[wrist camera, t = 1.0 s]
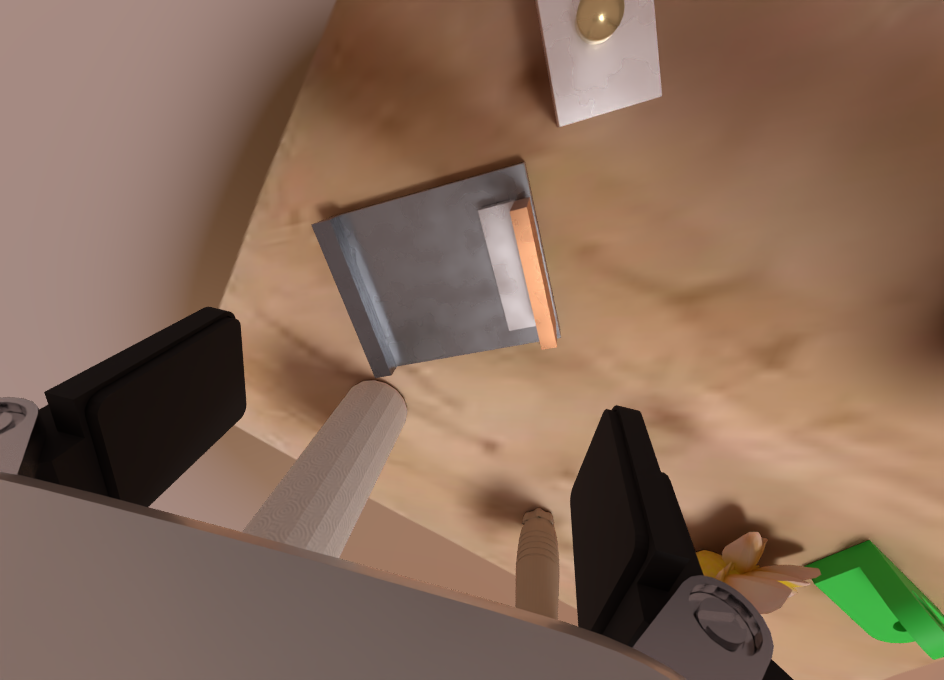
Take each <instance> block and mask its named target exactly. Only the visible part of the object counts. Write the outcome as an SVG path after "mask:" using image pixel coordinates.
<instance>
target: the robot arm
mask: <svg viewBox="0 0 944 680" xmlns="http://www.w3.org/2000/svg"><path fill="white" fill-rule="evenodd" d="M44 393H45V396H46V399H47V402H48V405H47V406H45V407H43V408H41V409H40V410H39V409H38V407H37V405H36V404H35V403H34V402H32V401H30V400H27V399H24V398H15V397H3V398H0V680H793V679H792V678H791V677H790V676H789V675H788V674H787V673H786V672H785V671H784V670H782V669H781V668H780V667H779V666H778V665H777V664H776V663H775V662H774V661H773V660H772V659H771V658H772V654H773V647H774V645H773V641H772V637H771V632H770V630H769V628H768V627H767V625H766V623H765V621H764V619H763V617H762V616H761V615H760V613H759V612H758V611H757V610H756V608H755V607H754V606H753V604H752V603H751V602H749V601H748V600H747V599H746V598H745V597H744V596H743V595H742V594H741V593H740V592H738V591H737V590H735V589H734V588H732V587H731V586H729V585H728V584H726V583H724V582H722V581H720V580H717V579H715V578H713V577H708V576H704V575H703V572H702V569H701V566H700V563H699V560H698V558H697V555H696V552H695V549H694V546H693V543H692V541H691V538H690V535H689V532H688V529H687V526H686V524H685V521H684V518H683V515H682V512H681V509H680V507H679V504H678V501H677V498H676V495H675V493H674V490H673V487H672V484H671V481H670V479H669V477H668V475H666V474H665V473H663V472H661V471H660V468H659V465H658V462H657V459H656V456H655V453H654V450H653V447H652V444H651V441H650V438H649V435H648V432H647V429H646V426H645V423H644V420H643V417H642V414H641V412H640V411H638V410H634V409H630V408H626V407H621V406H617V405H616V406H614V407H613V409H612V410H609V409H606V410H605V411H604V412H603V414H602V417H601V419H600V422H599V424H598V427H597V429H596V431H595V434H594V436H593V439H592V441H591V444H590V446H589V449H588V451H587V453H586V456H585V458H584V461H583V463H582V466H581V468H580V471H579V473H578V476H577V478H576V480H575V483H574V485H573V488H572V492H571V498H570V506H571V522H572V537H573V552H574V567H575V582H576V597H577V612H578V627H577V626H575V625H571V624H569V623H566V622H563V621H559V620H556V619H553V618H549V617H546V616H543V615H539V614H536V613H532V612H529V611H526V610H522V609H519V608H515V607H512V606H509V605H505V604H502V603H498V602H495V601H492V600H488V599H485V598H481V597H478V596H474V595H470V594H467V593H463V592H459V591H456V590H452V589H448V588H445V587H441V586H438V585H434V584H430V583H427V582H423V581H420V580H416V579H412V578H409V577H405V576H402V575H398V574H394V573H390V572H387V571H383V570H379V569H376V568H373V567H368V566H365V565H362V564H358V563H354V562H350V561H347V560H343V559H340V558H336V557H332V556H328V555H325V554H321V553H317V552H314V551H310V550H306V549H303V548H299V547H295V546H291V545H288V544H284V543H280V542H277V541H273V540H269V539H265V538H262V537H258V536H254V535H251V534H247V533H243V532H239V531H236V530H232V529H228V528H224V527H221V526H217V525H213V524H209V523H206V522H202V521H198V520H194V519H190V518H187V517H183V516H179V515H175V514H172V513H168V512H164V511H160V510H156V509H152V508H149V507H148V506H150V505H151V504H152V503H153V502H154V501H155V500H156V499H157V498H158V497H159V496H160V495H161V494H162V493H163V492H164V491H165V490H166V489H168V488H169V487H170V486H171V485H172V484H173V483H174V482H175V481H176V480H177V479H178V478H179V477H180V476H181V475H182V474H183V473H184V472H185V471H186V470H187V469H188V468H189V467H190V466H192V465H193V464H194V463H195V461H197V460H198V459H199V458H200V457H201V456H202V455H203V454H204V453H205V452H206V451H207V450H208V449H209V448H210V447H211V446H213V444H215V442H217V441H218V440H219V439H220V438H221V437H222V436H223V435H224V434H225V433H226V432H227V431H228V430H229V429H230V428H231V427H232V426H233V425H235V424H236V423H237V422H238V421H239V420H240V419H241V418H242V416H243V415H244V412H245V410H246V392H245V378H244V365H243V351H242V338H241V325H240V322H239V320H237V319H236V318H235V316H234V314H233V313H231V312H229V311H225V310H221V309H216V308H212V307H205V308H203V309H201V310H199V311H197V312H195V313H193V314H191V315H190V316H188V317H186V318H184V319H182V320H180V321H178V322H176V323H174V324H172V325H171V326H169V327H167V328H165V329H163V330H161V331H159V332H157V333H155V334H153V335H152V336H150V337H148V338H146V339H144V340H142V341H140V342H138V343H137V344H135V345H133V346H131V347H129V348H127V349H125V350H123V351H121V352H120V353H117V354H116V355H114V356H112V357H110V358H108V359H106V360H104V361H102V362H100V363H99V364H97V365H95V366H93V367H91V368H89V369H87V370H85V371H83V372H82V373H80V374H78V375H76V376H74V377H72V378H70V379H68V380H66V381H65V382H63V383H61V384H59V385H57V386H55V387H53V388H51V389H49V390H47V391H46V392H44Z"/></svg>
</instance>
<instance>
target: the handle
mask: <svg viewBox="0 0 944 680" xmlns="http://www.w3.org/2000/svg"><path fill="white" fill-rule="evenodd" d="M522 524H523V525H524V526H523V527H522V530H521V533H520V538H519V544H518V551H517V561H516V608H519V609H522V610H526V611H529V612H532V613H536V614H539V615H543V616H546V617H549V618H553V619H556V620H558V596H559V552H558V542H557V536H556V532H555V528H554V520H553V515H552V514H551V513H549V512H545V511H543V510H542V509H540V508H536V509H535V510H534V511H531V512H526V513H525V514H524V517H523V522H522Z"/></svg>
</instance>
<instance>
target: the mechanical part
mask: <svg viewBox="0 0 944 680" xmlns="http://www.w3.org/2000/svg"><path fill="white" fill-rule="evenodd" d="M804 567H810V568H818V569H819V570H820V572H821V575H819V576H818V577H816V578H813V579H812V581H813V582H814V584H815V585H816V586H817V587H818V588H819V589H820V590H822V591H823V592H824V593H825V594H826V595H827V596H828V597H829V598H830V599H831V600H832V601H833V602H834V603H836V604H837V605H838V606H839V607H840V608H841V609H842V610H843V611H844V612H845V613H846V614H847V615H848V616H850V617H851V618H852V619H853V620H854V621H855V622H856V623H857V624H858V625H859V626H860V627H861V628H862V629H864V630H865V631H866V632H867V633H868V634H869V635H870V636H872V637H873V638H875V639H877V640H880V641H884V642H890V643H908V642H914V641H916V642H917V643H918V645H919V646H920V647H921V648H922V649H923V650H924V651H925V652H926V653H927V654H928V655H929V656H930V657H931V658H932V659H934V660H935V659H938V658H942V657H944V615H943V614H942V613H941V612H940V610H939V609H938V608H937V607H936V606H935V605H934V604H933V603H932V602H931V601H930V600H929V599H928V598H927V597H926V596H925V595H924V594H923V593H922V592H921V591H920V590H919V589H918V588H917V587H916V586H915V585H914V584H913V583H912V582H911V581H910V580H909V579H908V578H907V577H906V576H905V575H904V574H903V573H902V572H901V571H900V570H899V569H898V568H897V567H896V566H895V565H894V564H893V563H892V562H891V561H890V560H889V559H888V558H887V557H886V556H885V555H884V554H883V553H882V552H881V551H880V550H879V549H878V548H877V547H876V546H875V545H874V544H873V543H872V542H871V541H870V540H868V541H865V542H863V543H861V544H858V545H856V546H853V547H851V548H848V549H846V550H843V551H841V552H838V553H836V554H833V555H831V556H828V557H826V558H823V559H821V560H818V561H816V562H813V563H811V564H808V565H806V566H804Z"/></svg>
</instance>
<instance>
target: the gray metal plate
mask: <svg viewBox="0 0 944 680" xmlns="http://www.w3.org/2000/svg"><path fill="white" fill-rule="evenodd" d="M528 197H530V201H531V206H532V211H533V216H534V220H535V225H536V230H537V235H538V239H539V244H540V249H541V253H542V258H543V263H544V268H545V272H546V277H547V282H548V287H549V291H550V296H551V301H552V305H553V310H554V315H555V320H556V333H557V338H561V335H560V326H559V321H558V317H557V312H556V307H555V302H554V298H553V293H552V288H551V283H550V278H549V274H548V269H547V264H546V259H545V255H544V250H543V245H542V240H541V235H540V231H539V226H538V221H537V216H536V211H535V207H534V202H533V197H532V192H531V188H530V183H529V178H528V173H527V168H526V164H525V162H521V163H518V164H514V165H511V166H507V167H504V168H500V169H497V170H493V171H490V172H486V173H483V174H479V175H476V176H472V177H469V178H465V179H462V180H458V181H455V182H451V183H448V184H444V185H441V186H437V187H434V188H430V189H427V190H423V191H420V192H416V193H413V194H409V195H406V196H402V197H399V198H395V199H392V200H388V201H385V202H381V203H378V204H374V205H371V206H367V207H364V208H360V209H357V210H353V211H350V212H346V213H343V214H339V215H336V216H332V217H329V218H327V219H324V220H322V221H319V222H317V223H314V224H312V227H313V230H314V232H315V235H316V237H317V239H318V242H319V244H320V247H321V249H322V251H323V254H324V256H325V259H326V261H327V263H328V266H329V268H330V271H331V273H332V275H333V278H334V280H335V283H336V285H337V287H338V290H339V292H340V295H341V297H342V299H343V302H344V304H345V307H346V309H347V311H348V314H349V316H350V319H351V321H352V323H353V326H354V328H355V331H356V333H357V335H358V338H359V340H360V343H361V345H362V347H363V350H364V352H365V355H366V357H367V359H368V362H369V364H370V367H371V369H372V371H373V374H374V376H375V378H378V377H384V376H390V375H392V374H393V372H394V370H395V369H396V367H397V366H402V365H408V364H413V363H419V362H425V361H430V360H436V359H442V358H448V357H453V356H459V355H465V354H470V353H476V352H482V351H488V350H493V349H499V348H505V347H510V346H516V345H522V344H527V343H533V342H539V336H538V332H537V328H536V326H533V327H528V328H522V329H517V330H512V331H509V328H508V324H507V321H506V317H505V313H504V309H503V305H502V301H501V298H500V294H499V290H498V286H497V282H496V278H495V275H494V271H493V267H492V263H491V259H490V255H489V252H488V248H487V244H486V240H485V236H484V232H483V229H482V225H481V221H480V217H479V213H478V210H479V209H480V207H484V206H488V205H492V204H495V203H499V202H503V201H507V200H510V199H514V198H516V200H520V199H524V198H528Z"/></svg>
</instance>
